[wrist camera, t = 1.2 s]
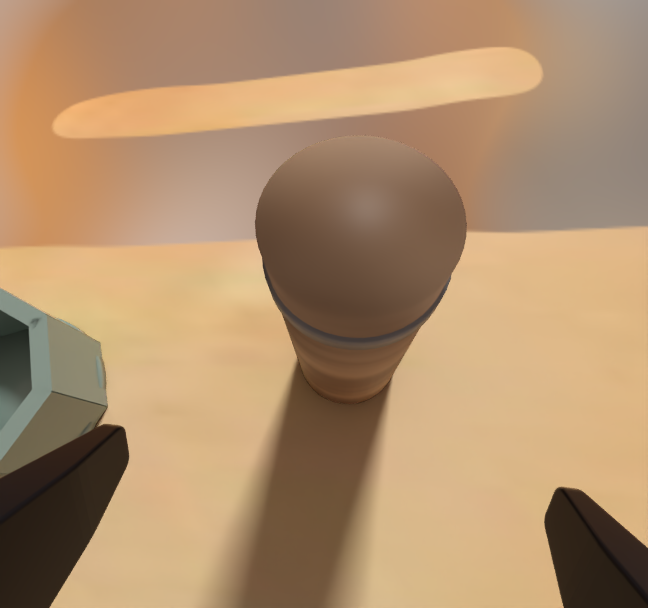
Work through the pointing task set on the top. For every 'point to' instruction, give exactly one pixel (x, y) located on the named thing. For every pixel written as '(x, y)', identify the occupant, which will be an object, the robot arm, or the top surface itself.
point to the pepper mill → (357, 256)
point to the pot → (44, 383)
